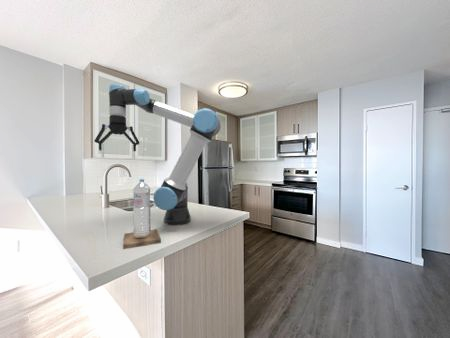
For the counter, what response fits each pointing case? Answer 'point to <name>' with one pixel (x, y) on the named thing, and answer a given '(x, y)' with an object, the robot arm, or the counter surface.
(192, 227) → the counter surface
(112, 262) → the counter surface
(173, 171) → the robot arm
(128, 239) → the walnut board
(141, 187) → the water bottle
